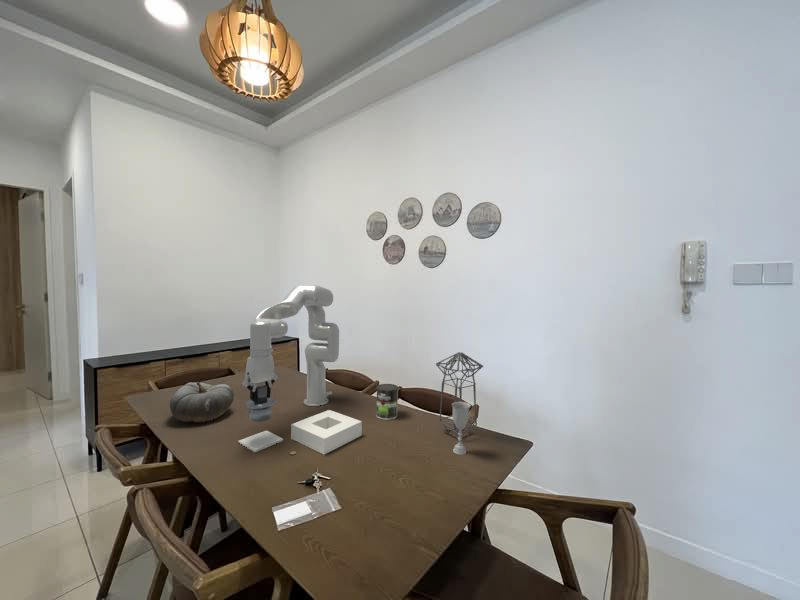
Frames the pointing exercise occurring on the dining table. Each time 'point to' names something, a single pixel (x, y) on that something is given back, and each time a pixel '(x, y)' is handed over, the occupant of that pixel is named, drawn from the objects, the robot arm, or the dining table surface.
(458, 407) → the chalice
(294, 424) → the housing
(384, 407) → the coffee can
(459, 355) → the geometric lantern
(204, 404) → the gourd
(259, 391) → the grey round knobbed piece
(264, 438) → the mat
